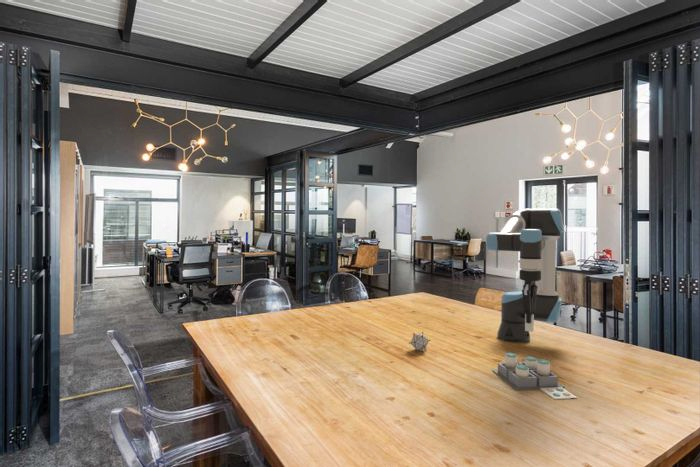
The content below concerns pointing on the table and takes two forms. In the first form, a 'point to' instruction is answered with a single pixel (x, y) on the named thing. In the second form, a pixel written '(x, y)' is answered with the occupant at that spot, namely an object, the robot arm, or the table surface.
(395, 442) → the table surface
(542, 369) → the button
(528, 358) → the button
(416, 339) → the game die
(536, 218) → the robot arm
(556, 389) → the card
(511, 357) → the button
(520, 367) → the button
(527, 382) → the board
